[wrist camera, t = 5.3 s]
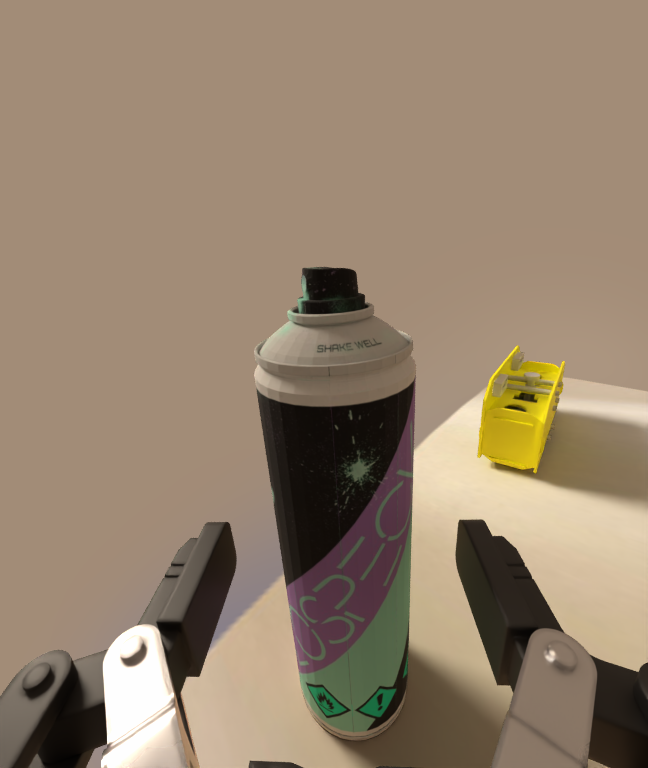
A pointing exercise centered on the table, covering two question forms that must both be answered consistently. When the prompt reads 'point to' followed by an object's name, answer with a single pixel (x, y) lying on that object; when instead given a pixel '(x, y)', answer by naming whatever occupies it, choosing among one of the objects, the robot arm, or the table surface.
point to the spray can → (342, 497)
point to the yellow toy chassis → (519, 411)
